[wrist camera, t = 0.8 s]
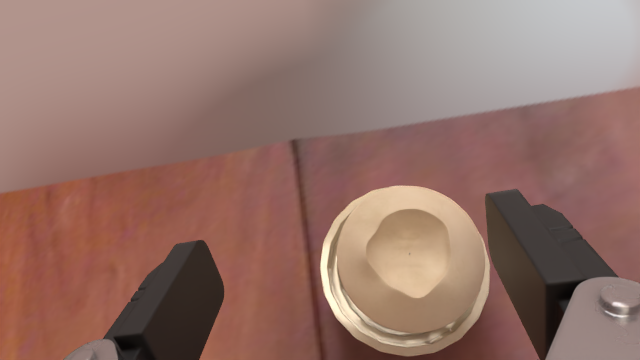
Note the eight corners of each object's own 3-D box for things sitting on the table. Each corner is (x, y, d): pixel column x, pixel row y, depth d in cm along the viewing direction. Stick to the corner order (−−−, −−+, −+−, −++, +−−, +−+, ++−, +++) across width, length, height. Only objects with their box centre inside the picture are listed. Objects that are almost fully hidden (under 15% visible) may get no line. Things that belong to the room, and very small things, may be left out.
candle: (452, 321, 22) (504, 340, 13) (352, 318, 23) (330, 333, 14) (446, 222, 24) (488, 172, 14) (352, 223, 25) (332, 176, 15)
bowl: (305, 241, 25) (294, 232, 22) (424, 177, 25) (430, 158, 22) (372, 374, 22) (370, 388, 19) (505, 303, 22) (526, 303, 19)
